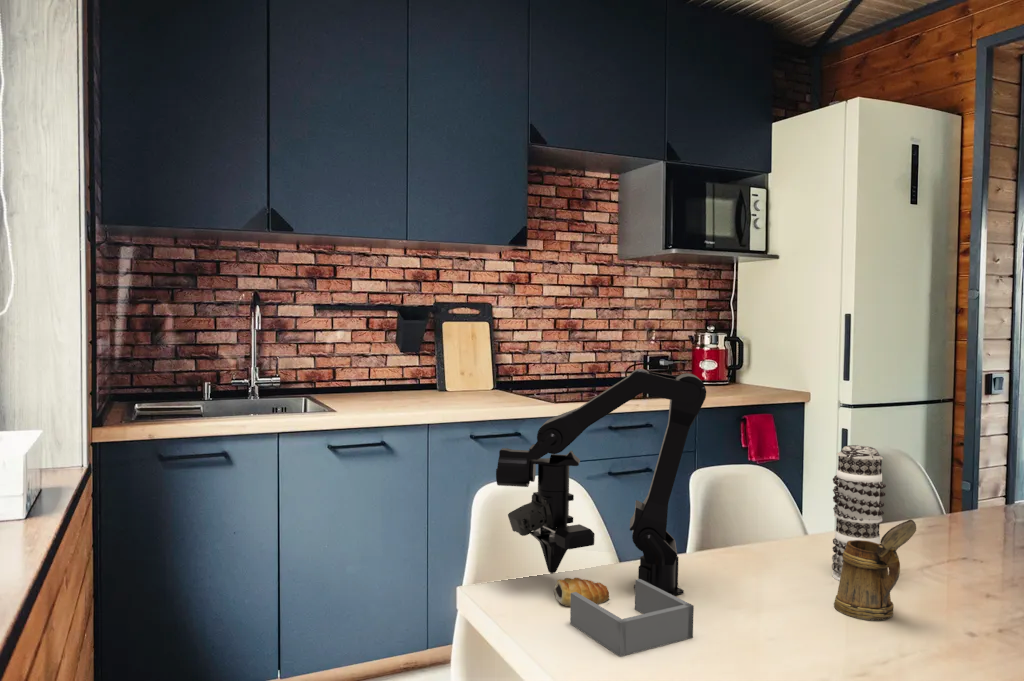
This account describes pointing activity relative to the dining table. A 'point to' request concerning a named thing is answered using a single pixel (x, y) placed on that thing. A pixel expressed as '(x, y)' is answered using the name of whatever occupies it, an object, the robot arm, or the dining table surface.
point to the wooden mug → (871, 574)
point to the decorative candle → (856, 499)
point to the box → (635, 621)
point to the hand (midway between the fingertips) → (552, 572)
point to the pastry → (580, 590)
